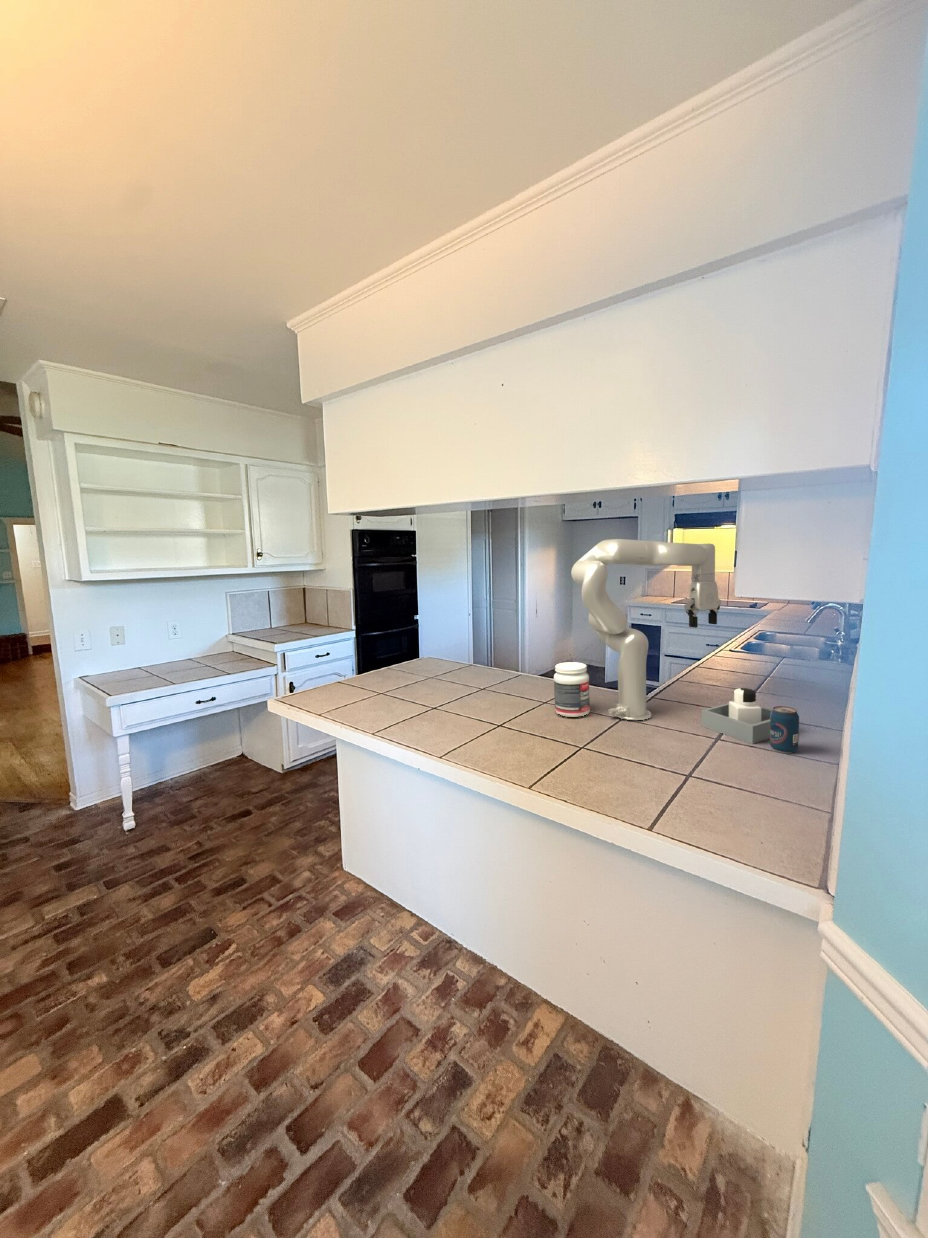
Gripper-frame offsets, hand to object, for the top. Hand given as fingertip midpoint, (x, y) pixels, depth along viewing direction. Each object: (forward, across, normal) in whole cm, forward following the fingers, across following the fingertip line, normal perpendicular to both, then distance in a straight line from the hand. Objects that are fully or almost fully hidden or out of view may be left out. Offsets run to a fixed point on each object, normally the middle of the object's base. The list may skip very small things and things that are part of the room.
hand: (703, 625), depth 178 cm
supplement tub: (+31, -44, +20) cm, 57 cm away
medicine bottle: (+30, -8, -23) cm, 38 cm away
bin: (+30, -8, -23) cm, 39 cm away
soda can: (+31, -13, -39) cm, 51 cm away
